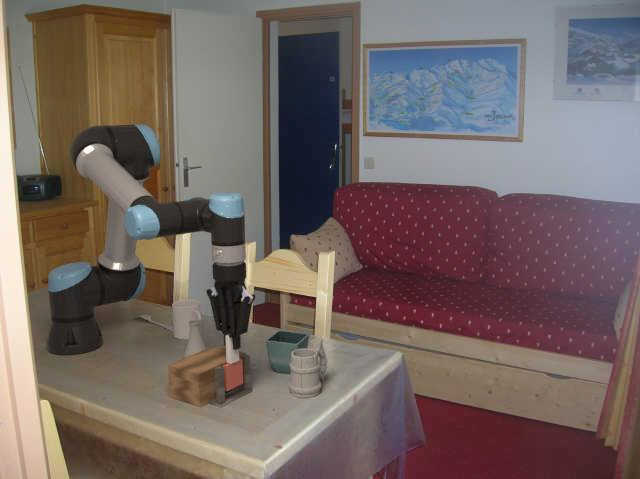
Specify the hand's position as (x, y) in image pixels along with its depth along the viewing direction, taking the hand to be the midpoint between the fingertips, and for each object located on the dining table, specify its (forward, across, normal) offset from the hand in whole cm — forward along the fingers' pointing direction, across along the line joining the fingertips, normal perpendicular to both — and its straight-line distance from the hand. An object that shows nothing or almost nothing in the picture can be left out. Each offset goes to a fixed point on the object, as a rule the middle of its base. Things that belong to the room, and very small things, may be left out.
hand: (232, 361), depth 161 cm
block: (+9, -6, 0) cm, 11 cm away
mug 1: (+9, -40, +26) cm, 49 cm away
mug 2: (+9, +12, +14) cm, 21 cm away
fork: (+9, -59, +29) cm, 66 cm away
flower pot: (+9, 0, +21) cm, 23 cm away
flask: (+9, -27, +15) cm, 32 cm away
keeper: (+6, 0, 0) cm, 6 cm away
